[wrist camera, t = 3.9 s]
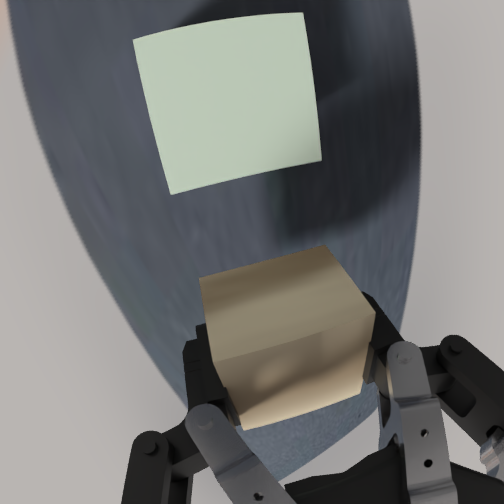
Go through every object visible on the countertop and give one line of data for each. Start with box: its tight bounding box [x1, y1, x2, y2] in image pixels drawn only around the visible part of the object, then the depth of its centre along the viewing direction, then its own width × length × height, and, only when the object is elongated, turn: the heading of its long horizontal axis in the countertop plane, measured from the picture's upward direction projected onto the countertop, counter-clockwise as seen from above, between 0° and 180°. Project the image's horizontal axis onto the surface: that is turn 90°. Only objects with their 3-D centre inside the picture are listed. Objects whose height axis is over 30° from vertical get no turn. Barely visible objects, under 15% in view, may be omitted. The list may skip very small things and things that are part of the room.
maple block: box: [199, 245, 376, 430], centre depth 12 cm, size 5×5×4 cm
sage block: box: [133, 13, 322, 195], centre depth 11 cm, size 5×5×5 cm
